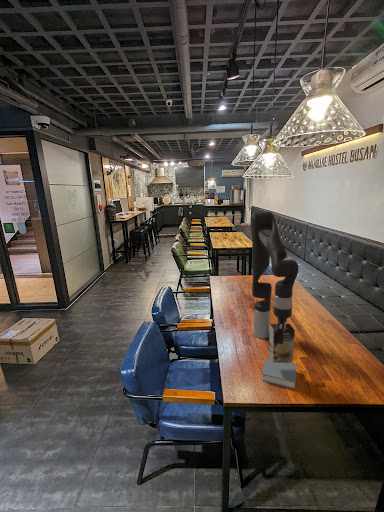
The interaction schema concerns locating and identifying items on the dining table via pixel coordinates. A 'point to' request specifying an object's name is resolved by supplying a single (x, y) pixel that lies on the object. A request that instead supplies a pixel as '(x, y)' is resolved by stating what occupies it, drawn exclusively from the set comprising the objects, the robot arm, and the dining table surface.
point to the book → (279, 373)
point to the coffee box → (281, 345)
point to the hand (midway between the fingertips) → (281, 338)
